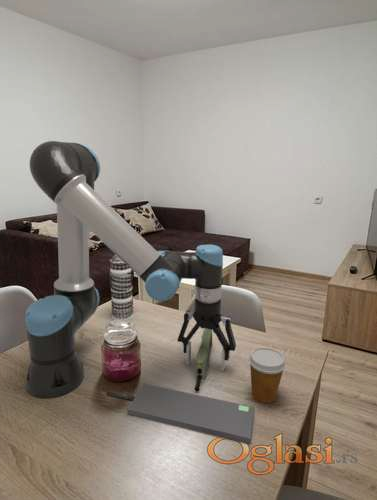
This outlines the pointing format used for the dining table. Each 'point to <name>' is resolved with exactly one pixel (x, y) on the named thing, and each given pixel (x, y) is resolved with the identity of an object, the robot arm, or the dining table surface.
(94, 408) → the dining table surface
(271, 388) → the disposable coffee cup
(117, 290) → the decorative candle
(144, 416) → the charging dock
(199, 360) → the handheld radio
